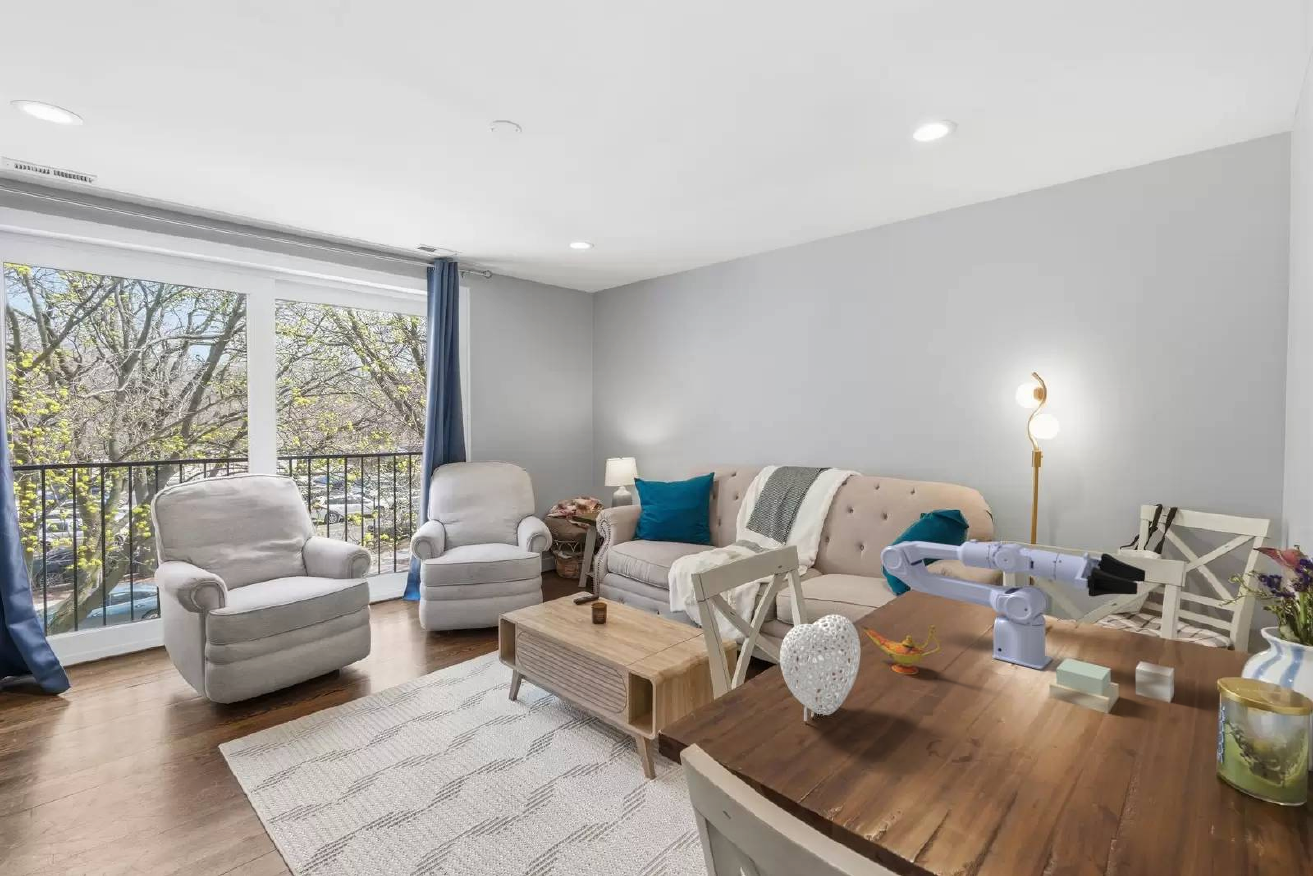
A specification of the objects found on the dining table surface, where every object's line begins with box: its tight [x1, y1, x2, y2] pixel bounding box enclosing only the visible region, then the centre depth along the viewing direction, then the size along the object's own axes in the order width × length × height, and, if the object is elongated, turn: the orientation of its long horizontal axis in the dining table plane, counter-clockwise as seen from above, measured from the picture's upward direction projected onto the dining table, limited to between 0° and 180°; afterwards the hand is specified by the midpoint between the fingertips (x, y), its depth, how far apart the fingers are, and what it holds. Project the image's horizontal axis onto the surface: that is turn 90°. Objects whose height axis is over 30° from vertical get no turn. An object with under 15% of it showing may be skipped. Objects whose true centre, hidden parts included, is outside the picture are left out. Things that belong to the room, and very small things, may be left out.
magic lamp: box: [858, 625, 941, 675], centre depth 128 cm, size 7×18×11 cm, turn 41°
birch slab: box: [1049, 676, 1119, 714], centre depth 113 cm, size 9×9×3 cm
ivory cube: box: [1135, 660, 1175, 704], centre depth 114 cm, size 5×5×5 cm
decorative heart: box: [779, 614, 861, 722], centre depth 108 cm, size 18×11×17 cm, turn 128°
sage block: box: [1056, 657, 1112, 696], centre depth 113 cm, size 7×7×3 cm
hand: (1141, 582), depth 116 cm, fingers open, 7 cm apart
